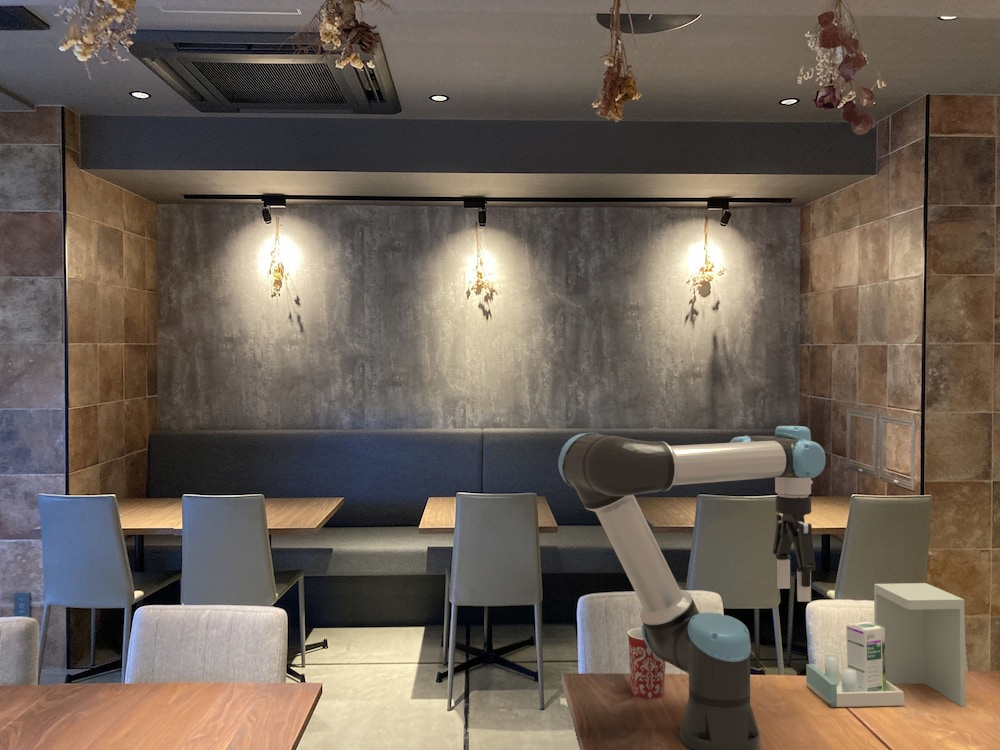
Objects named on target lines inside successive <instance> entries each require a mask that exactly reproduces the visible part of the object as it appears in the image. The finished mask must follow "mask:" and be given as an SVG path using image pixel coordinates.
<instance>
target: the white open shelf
mask: <svg viewBox="0 0 1000 750" xmlns="http://www.w3.org/2000/svg"><path fill="white" fill-rule="evenodd" d="M873 586H874V587H873V590H874V592H873V594H874V595H873V598H874V601H873V602H874V605H873V606H874V609H873V610H874V624H877V625H880V626H882V627H884V628H885V672H886V680H887V681H888V682H890V683H891V684H893V685H907V684H908V685H909V684H910V685H911V684H913V685H914V684H925V685H926V686H928V687H930V688H932V689H933V690H934V691H936V692H938V693H939V694H941V695H942V696H944V697H945V696H946V697H945V698H947V699H948V700H950V701H951V702H953V703H954V704H956V705H957V706H960V707H966V634H965V633H966V630H965V628H966V625H965V622H966V621H965V620H966V619H965V616H966V614H965V613H966V612H965V611H966V610H965V609H966V608H965V605H966V604H965V599H964V598H961V597H959V596H957V595H955V594H953V593H951V592H947V591H945V590H943V589H941V588H939V587H936V586H933V585H931V584H929V583H927V582H920V583H919V582H918V583H917V582H915V583H914V582H913V583H912V582H910V583H909V582H908V583H907V582H904V583H874V585H873Z"/></svg>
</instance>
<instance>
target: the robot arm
mask: <svg viewBox="0 0 1000 750" xmlns="http://www.w3.org/2000/svg"><path fill="white" fill-rule="evenodd" d="M826 459H827V458H826V454H825V451H824V448H823V447H822V446H821V445H820V443H818V442H815V441H812V436H811V430H810V429H809V428H808V427H807V426H803V425H802V426H801V425H778V426H776V428H775V432H774V434H773V435H744V436H742V435H741V436H736V437H733V438H732V439H731V440H730V441H729V442H724V443H723V442H722V443H704V444H701V443H699V444H685V445H683V444H682V445H681V444H680V445H669V444H668V442H665V441H663V440H662V441H661V440H658V441H657V440H654V441H651V440H650V441H648V440H647V441H646V440H638V439H633V438H627V437H622V436H616V435H606V434H599V433H598V432H586V433H579V434H576V435H574V436H573V437H572V436H571V437H570V438H569V439H568V440H567V441H566V442H565V443H564V445H563V446H562V448H561V450H560V454H559V456H558V464H557V465H558V466H557V467H558V470H559V474H560V477H561V478H562V479H563V481H564V482H565V483H566V484H567V485H568V486H570V487H571V488H573V489H575V490H576V493H577V494H578V497H579V499H580V500H581V502H582V505H583V508H585V509H586V510H588V511H591V512H594V513H595V514H596V516H597V518H598V521H599V522H600V524H601V527H602V528H603V530H604V532H605V533H606V536H607V538H608V540H609V543H611V546H612V548H613V550H614V552H615V554H616V556H617V558H618V560H619V562H620V564H621V566H622V569H623V570H624V573H625V574H626V576H627V578H628V579H629V582H630V584H631V586H632V589H633V590H634V592H635V594H636V596H637V598H638V600H639V602H640V604H641V606H642V608H641V610H640V612H639V613H640V614H639V618H640V620H641V622H642V625H641V628H642V636H643V639H644V641H645V643H646V645H647V647H648V648H649V649H650V650H651V651H652V652H653V653H654V654H655V655H656V656H657V657H659V658H660V659H662V660H664V661H666V662H665V663H669V664H670V665H672V666H673V667H675V668H677V669H679V670H680V671H683V672H684V673H686V674H688V700H687V704H686V707H685V709H684V711H683V712H684V713H683V716H682V719H681V721H680V724H679V738H680V741H681V742H682V744H683V745H685V746H686V747H687V748H689V749H691V750H759V749H760V747H761V733H760V729H759V727H758V724H757V719H756V717H755V713H754V710H753V708H752V705H751V651H752V644H751V637H750V632H749V629H748V627H747V625H745V624H744V623H743V622H742V621H741V620H739V619H738V618H735V617H733V616H730V615H727V614H726V615H725V614H724V615H723V614H721V613H718V612H702V613H701V612H699V609H698V607H697V605H696V603H695V601H694V599H693V597H692V595H691V593H689V592H688V590H687V591H686V590H683V589H680V587H679V585H678V583H677V581H676V579H675V577H674V574H673V573H672V570H671V569H670V567H669V564H668V563H667V560H666V559H665V556H664V555H663V553H662V550H661V548H660V546H659V544H658V542H657V540H656V538H655V536H654V534H653V532H652V529H651V527H650V526H649V523H648V521H647V519H646V517H645V515H644V513H643V512H642V509H641V507H640V505H639V502H638V501H637V499H636V497H635V496H636V495H642V494H649V493H658V492H667V491H669V490H670V489H671V488H672V487H673V486H678V485H680V486H681V485H693V484H695V485H696V484H707V483H719V482H720V483H721V482H731V481H732V482H733V481H745V480H758V479H770V478H774V482H775V483H774V485H775V486H774V488H775V489H774V491H775V493H776V494H777V495H776V496H775V511H776V512H777V513H778V514H776V524H775V532H774V540H773V546H772V547H773V548H772V553H773V555H775V557H776V559H777V561H776V565H777V566H776V567H777V568H776V569H777V572H776V574H777V575H776V576H777V578H776V579H777V580H776V581H777V582H776V583H777V584H776V588H777V589H779V590H780V589H781V590H782V589H785V590H786V589H787V590H788V589H791V559H792V557H791V554H790V552H791V550H792V549H791V548H792V545H793V549H794V552H795V557H796V561H797V566H798V567H797V568H796V569H795V570H796V576H797V577H796V579H797V580H796V583H797V584H796V597H797V598H796V599H797V600H796V601H797V602H803V603H804V602H812V572H813V571H817V565H816V558H815V557H816V556H815V552H814V551H815V549H814V543H813V542H814V541H813V534H812V531H813V530H812V528H813V527H812V523H809V522H808V523H806V520H805V516H806V515H810V514H811V513H812V498H811V497H810V495H811V494H812V485H813V484H814V481H813V480H812V479H814V478H816V477H818V476H819V475H821V474H822V472H823V471H824V469H825V467H826Z"/></svg>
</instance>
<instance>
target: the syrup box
mask: <svg viewBox="0 0 1000 750" xmlns="http://www.w3.org/2000/svg"><path fill="white" fill-rule="evenodd" d="M846 666H847V667H846V668H851V669H855V670H856V671H857V692H875V691H886V672H885V628H884V627H882V626H880V625H877V624H875V622H870V621H862V622H861V621H860V622H855V623H847V624H846Z"/></svg>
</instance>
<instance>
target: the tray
mask: <svg viewBox="0 0 1000 750" xmlns="http://www.w3.org/2000/svg"><path fill="white" fill-rule="evenodd" d="M839 664H840V658H839V657H838V656H835V655H831V654H829V655H825V656H824V672H822V671H821V670H820V669H818V668H817V667H815V666H814V665H813V664H808V663H807V664H806V665H805V666H806V667H805V671H806V674H805V675H806V678H805V679H806V683H805V685H806V686H807V687H808V688H809V689H810V690H811V691H812V692H814V693H815V694H816V695H817V696H818V697H819V698H820V699H822V700H823V701H824V702H825V704H827V705H828V706H830V707H831V708H840V707H841V708H843V707H849V708H851V707H879V706H881V707H884V706H885V707H886V706H887V707H889V706H890V707H891V706H905V692H904V691H902V690H901V689H900V688H899V687H897V686H895V684H891V683H890V682H888V681H887V680H886V691H875V692H857V671H856V670H855V669H851V668H847V667H843V668H841V672H840V665H839Z"/></svg>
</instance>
